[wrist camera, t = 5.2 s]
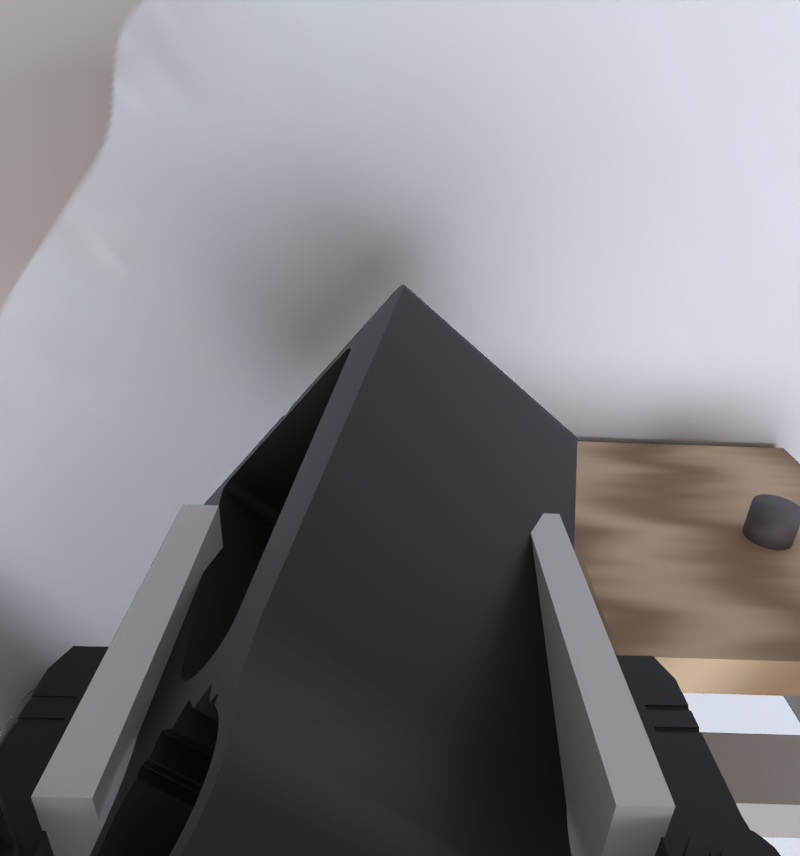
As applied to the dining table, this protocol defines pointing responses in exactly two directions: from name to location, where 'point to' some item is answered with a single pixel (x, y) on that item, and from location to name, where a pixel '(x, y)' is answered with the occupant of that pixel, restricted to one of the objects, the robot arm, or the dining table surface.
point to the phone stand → (368, 625)
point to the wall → (762, 777)
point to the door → (695, 560)
